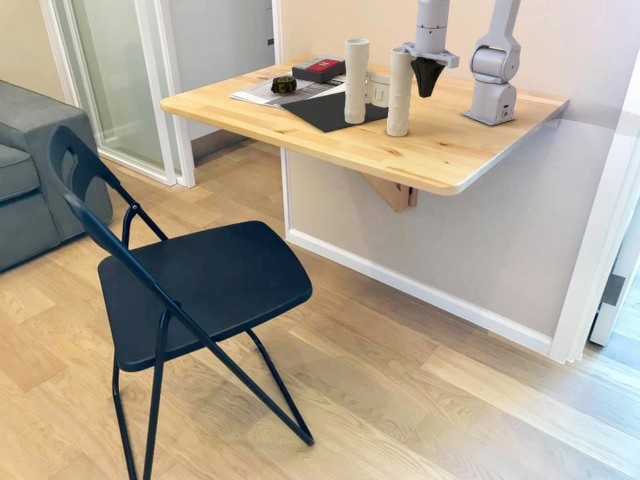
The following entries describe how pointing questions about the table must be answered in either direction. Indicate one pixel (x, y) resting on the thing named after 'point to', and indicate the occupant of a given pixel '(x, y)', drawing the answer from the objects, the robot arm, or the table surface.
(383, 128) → the table surface
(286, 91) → the tape measure
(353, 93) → the binoculars
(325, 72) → the grey and red box
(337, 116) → the mat
